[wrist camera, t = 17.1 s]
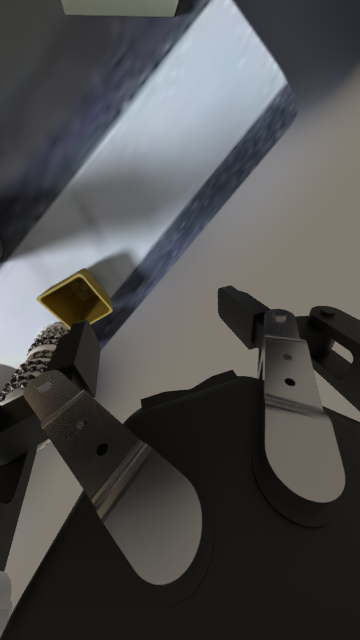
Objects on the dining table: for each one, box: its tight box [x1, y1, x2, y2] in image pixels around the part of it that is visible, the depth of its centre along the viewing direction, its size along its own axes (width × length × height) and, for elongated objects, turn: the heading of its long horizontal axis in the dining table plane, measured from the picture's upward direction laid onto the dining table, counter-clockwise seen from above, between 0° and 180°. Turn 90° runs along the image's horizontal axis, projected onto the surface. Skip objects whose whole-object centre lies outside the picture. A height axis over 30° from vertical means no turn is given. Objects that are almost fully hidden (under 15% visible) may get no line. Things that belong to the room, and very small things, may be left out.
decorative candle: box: [0, 323, 70, 451], centre depth 34 cm, size 9×9×25 cm
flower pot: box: [37, 269, 113, 329], centre depth 36 cm, size 9×9×9 cm
